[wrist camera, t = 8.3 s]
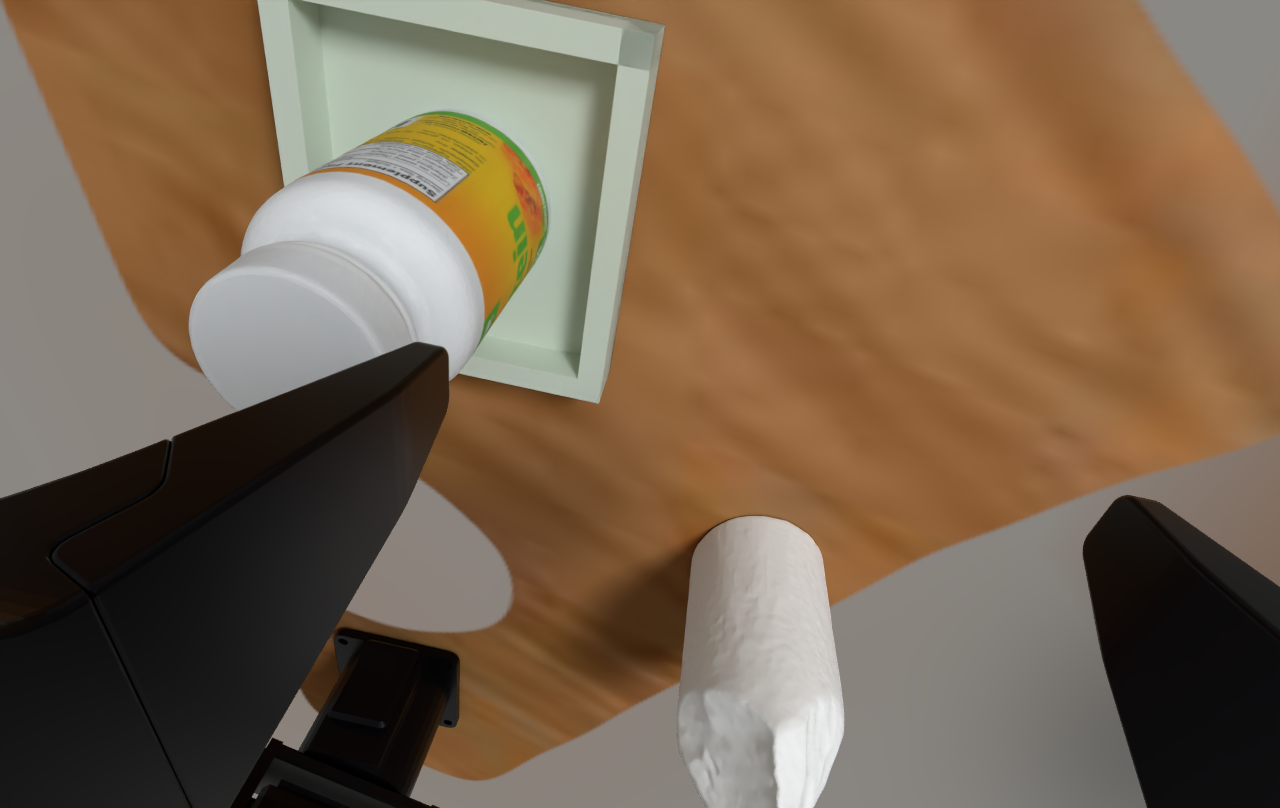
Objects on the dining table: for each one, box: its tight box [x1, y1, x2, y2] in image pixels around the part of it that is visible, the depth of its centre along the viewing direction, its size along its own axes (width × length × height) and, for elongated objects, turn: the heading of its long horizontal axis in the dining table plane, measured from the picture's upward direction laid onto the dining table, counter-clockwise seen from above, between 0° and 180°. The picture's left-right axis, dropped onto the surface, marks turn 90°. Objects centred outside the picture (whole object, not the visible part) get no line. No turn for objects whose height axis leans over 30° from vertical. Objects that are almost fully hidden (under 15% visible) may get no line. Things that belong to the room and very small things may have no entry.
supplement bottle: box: [189, 109, 551, 411], centre depth 17 cm, size 5×5×10 cm
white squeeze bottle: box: [677, 516, 844, 808], centre depth 24 cm, size 6×12×6 cm
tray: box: [258, 0, 665, 404], centre depth 21 cm, size 11×10×2 cm
